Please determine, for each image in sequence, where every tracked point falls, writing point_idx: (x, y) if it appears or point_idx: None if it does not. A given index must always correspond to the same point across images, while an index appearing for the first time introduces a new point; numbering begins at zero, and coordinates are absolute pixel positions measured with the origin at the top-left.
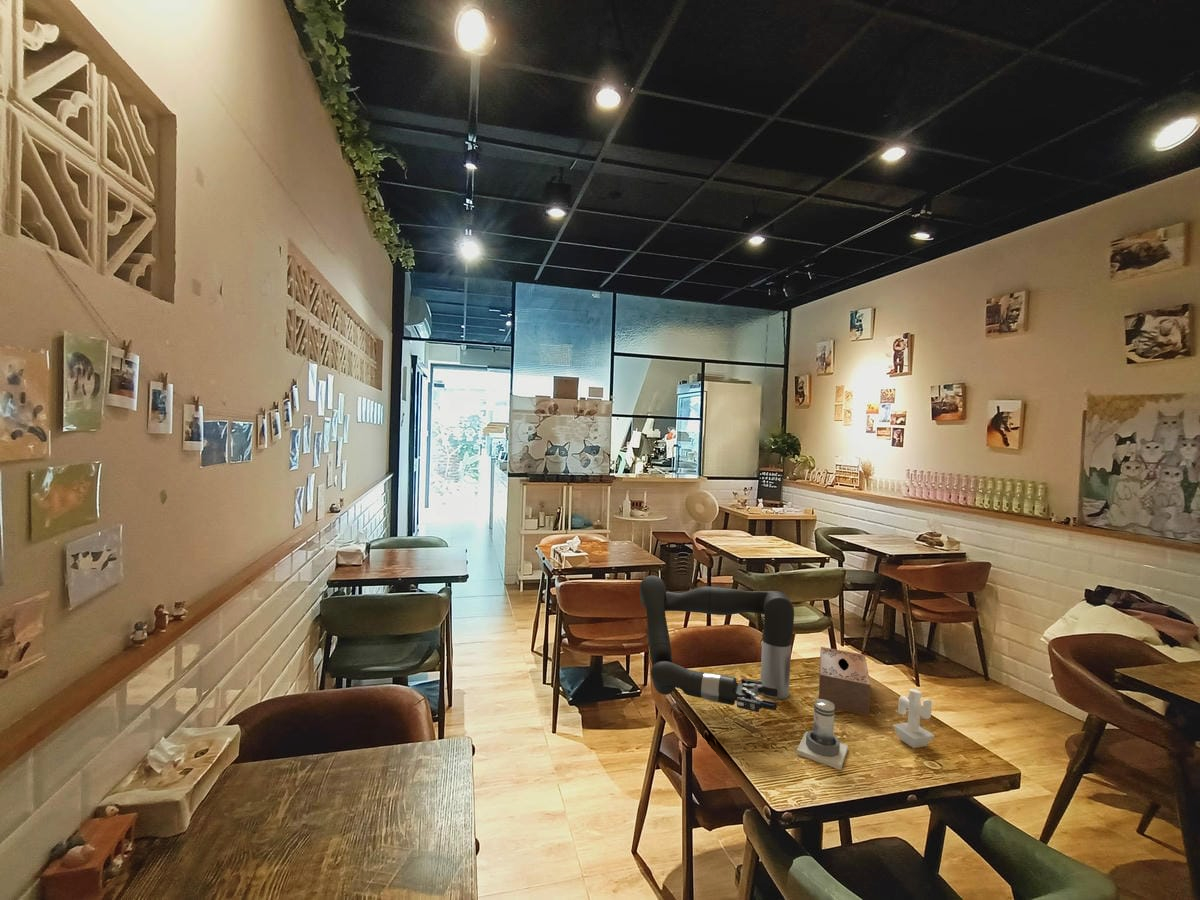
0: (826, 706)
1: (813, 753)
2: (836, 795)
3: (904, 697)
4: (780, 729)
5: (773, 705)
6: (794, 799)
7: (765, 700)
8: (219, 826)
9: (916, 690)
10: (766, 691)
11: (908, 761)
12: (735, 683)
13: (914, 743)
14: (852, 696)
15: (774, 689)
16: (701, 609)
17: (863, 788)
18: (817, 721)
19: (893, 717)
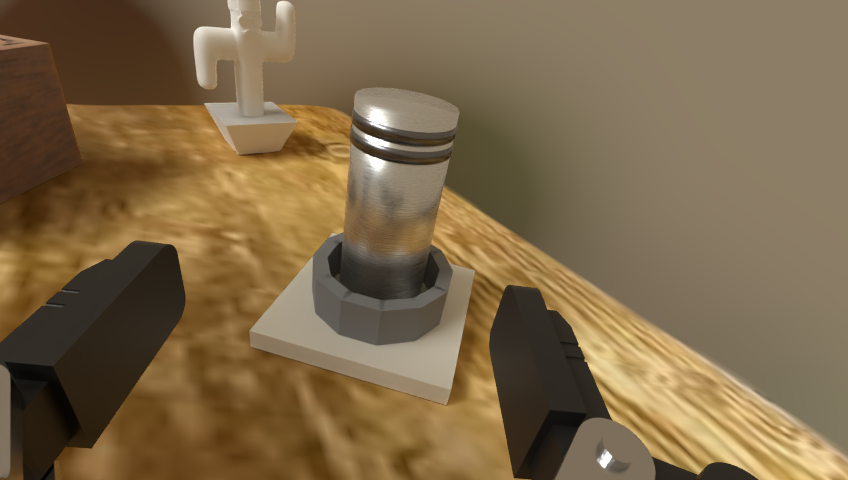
0: (435, 105)
1: (445, 330)
2: (622, 317)
3: (212, 28)
4: (182, 473)
5: (563, 322)
6: (789, 445)
7: (566, 377)
8: None
9: None
10: (100, 381)
11: (345, 170)
12: None
13: (288, 135)
14: (15, 123)
15: (155, 264)
16: None
17: (528, 258)
18: (432, 203)
19: (106, 134)
